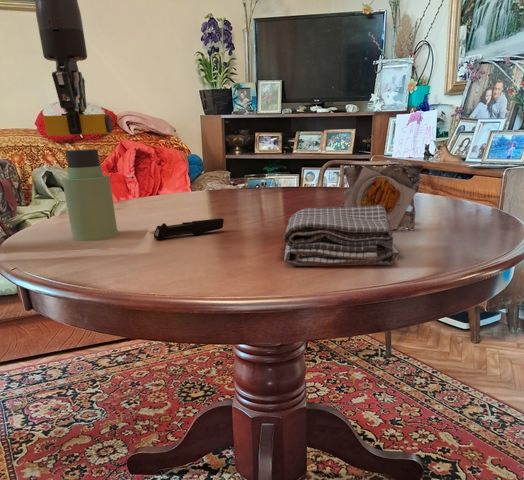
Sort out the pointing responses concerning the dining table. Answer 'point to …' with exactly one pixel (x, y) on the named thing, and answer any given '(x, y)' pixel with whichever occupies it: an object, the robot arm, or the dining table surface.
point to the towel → (339, 237)
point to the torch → (88, 124)
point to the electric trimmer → (188, 228)
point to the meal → (385, 190)
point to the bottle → (88, 197)
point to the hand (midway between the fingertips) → (78, 133)
